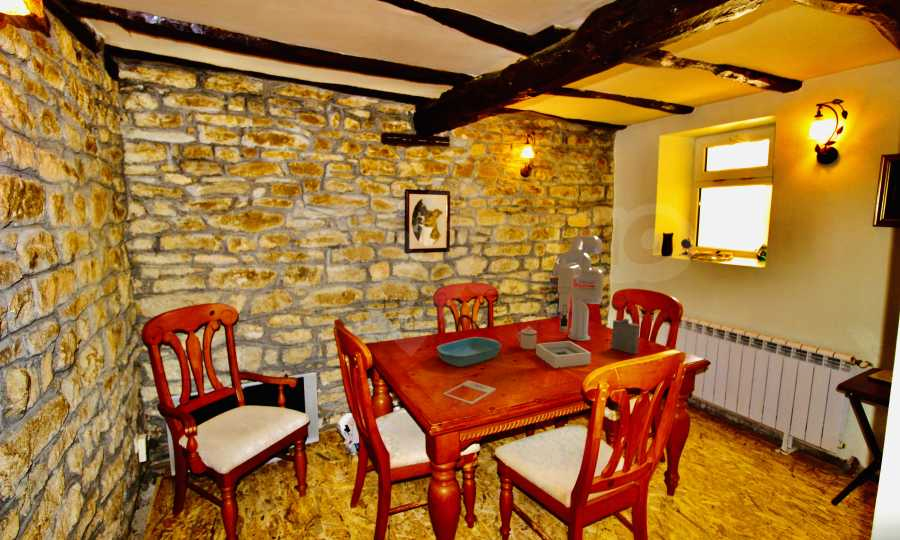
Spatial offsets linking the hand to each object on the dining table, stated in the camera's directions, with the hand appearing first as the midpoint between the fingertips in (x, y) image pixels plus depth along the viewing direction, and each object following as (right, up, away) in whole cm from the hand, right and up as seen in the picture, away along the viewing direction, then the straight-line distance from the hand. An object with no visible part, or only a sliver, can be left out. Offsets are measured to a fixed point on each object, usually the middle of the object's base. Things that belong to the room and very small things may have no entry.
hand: (563, 324), depth 222 cm
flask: (+38, -17, +17) cm, 44 cm away
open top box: (0, -18, +3) cm, 19 cm away
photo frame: (-50, -25, -37) cm, 67 cm away
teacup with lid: (-15, -16, +23) cm, 32 cm away
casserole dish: (-48, -19, +5) cm, 52 cm away
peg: (0, -3, +1) cm, 3 cm away
